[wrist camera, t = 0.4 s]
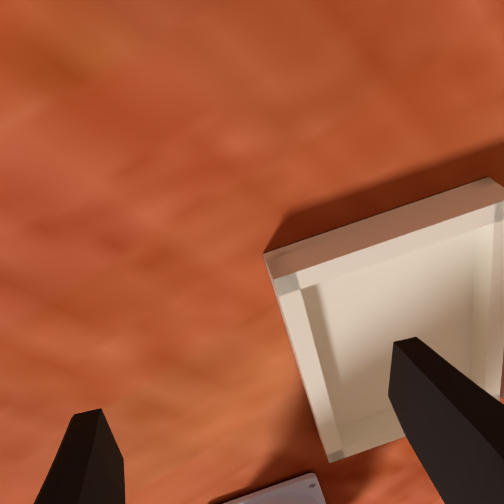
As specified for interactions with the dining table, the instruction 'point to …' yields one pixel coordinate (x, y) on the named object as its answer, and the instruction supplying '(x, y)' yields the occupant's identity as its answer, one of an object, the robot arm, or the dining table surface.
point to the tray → (393, 306)
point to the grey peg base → (502, 380)
